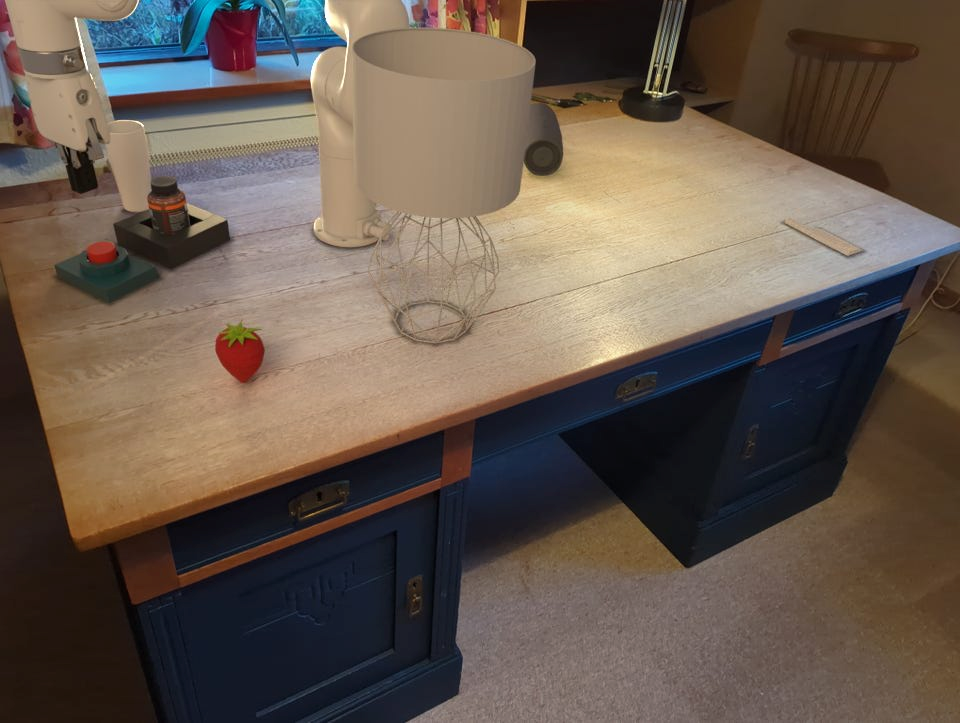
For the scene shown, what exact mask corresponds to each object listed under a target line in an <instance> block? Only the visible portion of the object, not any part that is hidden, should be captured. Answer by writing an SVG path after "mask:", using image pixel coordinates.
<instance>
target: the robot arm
mask: <svg viewBox="0 0 960 723" xmlns="http://www.w3.org/2000/svg"><path fill="white" fill-rule="evenodd" d="M4 3H5V7H6V10H7V15H8V17H9V22H10V25H11V29H12V33H13V36H14V40H15V44H16V49H17V51H18V55H19V60H20V62H21V66H22V70H23V73H24V75H25V82H26V89H27V93H28V97H29V98H28V99H29V104H30V108H31V111H32V116H33V120H34V122H35V125H36V129H37V130H38V132H39V134H40V135H41V136H42V137H44V138H46V140H47V141H48V142H49V143H51V144H52V145H53V146H55V148H56V149H57V151H58V153H59V156H60V159H61V161H62V163H63V164H64V165H65V169H66V173H67V174H66V175H67V178H68V182H69V186H70V189H71V191H72V192H75V193H77V194H79V195H82V194H85V193H86V194H87V193H88V192H90V191H94V190H96V189H98V188H99V183H98V179H97V175H96V170H95V166H94V164H95V163H96V161H98V160H101V159H104V158H105V154H104V151H103V148H102V146H101V144H103V145H104V144H109V143H110V140H111V139H110V133H109V129H108V125H107V123H108V121H107V118H106V114H105V110H104V107H103V104H102V100H101V98H100V95H99V94H100V93H99V92H98V89H97V86H96V83H95V82H94V79H93V77H92V74H91V72H89V71H88V65H87V61H86V56H85V52H84V47H83V43H82V39H81V33H80V29H79V25H78V21H77V19H85V20H93V21H103V22H104V21H105V22H116V21H120V20H124V19H126V18H128V17H129V16H131V15H132V14H133V13H134V12H135V10H136V8H137V7H138V4H139V0H4ZM324 14H325V18H326V19H325V20H326V23H327V24H328V27H329V28H330V29H331V30H332V32H333V33H334V34H335V35H337V36H338V37H339V38H340V39H342V40H343V41H344V42H346V43H347V45H346V46H332V47H329V48H328V49H325V50H323V52H321V53H320V54H319V55H318V57H317V58H316V59H315V60H314V63H313V66H312V69H311V74H310V85H311V86H310V88H311V95H312V100H313V107H314V111H315V112H314V113H315V118H316V126H317V127H316V128H317V138H318V140H317V141H318V164H319V182H320V183H319V184H320V185H319V186H320V202H321V203H320V204H321V216H320V217H318V218H317V219H315V221H314V223H313V233H314V235H315V236H316V238H317V239H318V240H320V241H321V242H323V243H325V244H328V245H331V246H335V247H339V248H360V247H366V246H369V245H372V244H374V243H377V242H378V240H379V238H380V236H381V234H382V232H383V230H384V228H385V226H386V224H387V223H388V222H386V221H383V220H382V211H381V210H379V209H377V203H375V202H373V201H371V200H370V199H368V198H367V197H366V196H364V195H363V194H362V193H361V192H360V191H359V189H358V188H357V186H356V184H355V180H354V133H353V82H352V45H353V43H354V42H355V41H356V40H357V39H358V38H360V37H362V36H364V35H367V34H370V33H373V32H378V31H383V30H389V29H398V28H411V26H410V25H411V24H410V17H409V14H408V11H407V8H406V5H405V3H404V1H403V0H325V3H324ZM390 224H391V223H389V224H388V225H387V227H386V229H387V228H388V227H389V226H390ZM392 227H393V225H392V226H391V227H390V228H389V229H388V231H389V230H390V229H391V228H392ZM386 229H385V231H386ZM385 231H384V232H385ZM388 231H387V232H388ZM387 232H386V233H387ZM386 233H385V234H386ZM390 233H391V231H390V232H389V233H388V234H387V235H386V236H385V237H384V238H383V239H382V240H383V241H387V240H388V239H389V238H390ZM385 234H384V235H385ZM384 235H383V236H384ZM382 240H381V241H382Z"/></svg>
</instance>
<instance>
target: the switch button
mask: <svg viewBox="0 0 960 723" xmlns="http://www.w3.org/2000/svg"><path fill="white" fill-rule="evenodd" d="M86 249H87V254H88V258H89V261H90V262H92V263H106V262H110V261H112V260H115V259H116V258H117V252H116V248H115V244H114V243H112V242H110V241H97V242H93V243H91V244H89V245H88V246H87V247H86Z"/></svg>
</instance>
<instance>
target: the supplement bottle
mask: <svg viewBox="0 0 960 723" xmlns="http://www.w3.org/2000/svg"><path fill="white" fill-rule="evenodd" d="M150 184H151V189H152V191H151V192H150V193H149V194H148V196H147V200H148V205H149V211H150V216H151V220H152V225H153V230H156V231H158V232H160V233H163V234H165V235H167V236H171V235H173V234H175V233H177V232H179V231H182V230H184V229H186V228H188V227H190V226H191V225H190V219H189V214H188V208H187V203H188V202H187V198H186V197H187V196H186V194H185V193H184V191H183V190H182V189H180V188H179V185H178V182H177V179H176V178H175V177H173V176H171V175H161V176H156V177H154V178H151V181H150Z"/></svg>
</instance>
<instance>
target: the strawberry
mask: <svg viewBox="0 0 960 723" xmlns="http://www.w3.org/2000/svg"><path fill="white" fill-rule="evenodd" d="M243 320H244V318H243V317H242V318H241V320H240V322H239V323H238V325H236V326H235V325H232V324H229V323H226V324H225V325H226V326H227V328H225V329H223V330H222V331H219V332H218V335H217V336H216V339H215V346H214V351H215V355H216V356H217V358H218V360H219V363H220V364H221V366H222V367H223V368H224V369H225V370H226V372H228V373H229V374H230V375H231V376H232V377H234V378H235V379H236V380H237V381H238V382H239V383H241V384H245V383H247V382H248V381H249V380H250V379H251V378H252V377H253V376H255V374H256V373H257V372H258V370H259V369H260V368H261V367H262V365H263V360H264V356H265V346H264V343H263V340H262V338H261V336H260V335H259V334H258V333H257V331H261V330H262V328H256V327H245V326H244V325H243Z"/></svg>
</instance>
